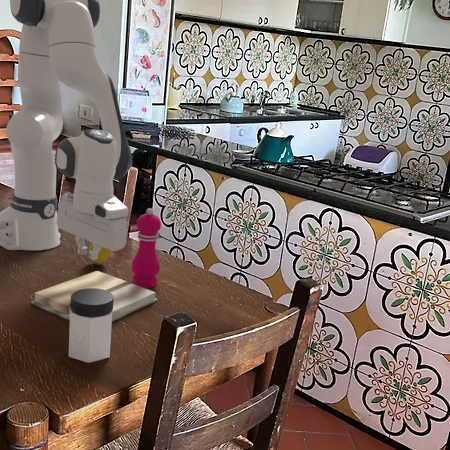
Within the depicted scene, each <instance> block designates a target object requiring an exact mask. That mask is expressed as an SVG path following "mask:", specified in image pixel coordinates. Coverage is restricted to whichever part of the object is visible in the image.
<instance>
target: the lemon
mask: <svg viewBox="0 0 450 450" xmlns="http://www.w3.org/2000/svg"><path fill="white" fill-rule="evenodd" d="M92 244H93V243H92V242H90V243H89V244H88V245H89V246H88V253H89V252H90V251H92V250H93V248H94V247H93V246H92ZM109 256H110V250H109V249H106V248H104V247H102V249H101V250H100V251H99V252H98V259H96V260H92V259H90V260H91V261H92V262H93V263H95V264H96V265H101V264H102V263H104V262H106V261H107V259H109Z"/></svg>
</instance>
